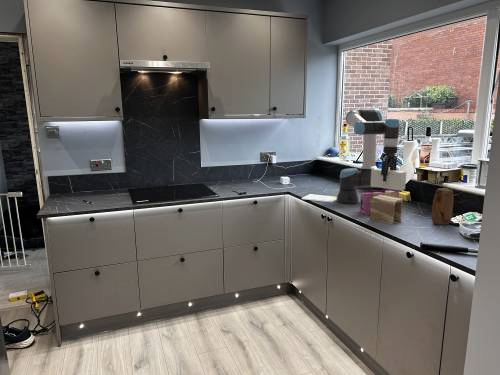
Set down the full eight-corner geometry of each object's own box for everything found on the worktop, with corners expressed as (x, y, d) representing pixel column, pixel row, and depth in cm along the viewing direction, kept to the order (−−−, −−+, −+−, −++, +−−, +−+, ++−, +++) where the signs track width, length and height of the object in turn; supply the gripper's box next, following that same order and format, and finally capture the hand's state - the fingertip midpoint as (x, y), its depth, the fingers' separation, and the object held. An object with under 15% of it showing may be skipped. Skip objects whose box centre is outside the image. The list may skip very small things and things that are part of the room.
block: (440, 220, 219) (443, 187, 215) (452, 223, 212) (456, 189, 208) (428, 223, 214) (431, 188, 209) (440, 226, 207) (444, 191, 203)
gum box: (363, 215, 231) (364, 193, 228) (357, 211, 239) (358, 191, 236) (398, 212, 236) (399, 191, 233) (390, 209, 244) (392, 189, 241)
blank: (375, 184, 225) (376, 168, 223) (405, 188, 212) (406, 171, 210) (370, 186, 221) (371, 169, 219) (400, 190, 208) (402, 172, 206)
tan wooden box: (379, 215, 229) (380, 194, 226) (401, 220, 219) (402, 198, 216) (370, 219, 222) (371, 197, 219) (392, 224, 212) (394, 201, 209)
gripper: (388, 147, 203) (385, 189, 207) (404, 145, 215) (401, 184, 220) (375, 146, 208) (373, 187, 213) (392, 144, 221) (389, 182, 225)
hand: (387, 185), depth 216 cm, fingers closed on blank, 6 cm apart
